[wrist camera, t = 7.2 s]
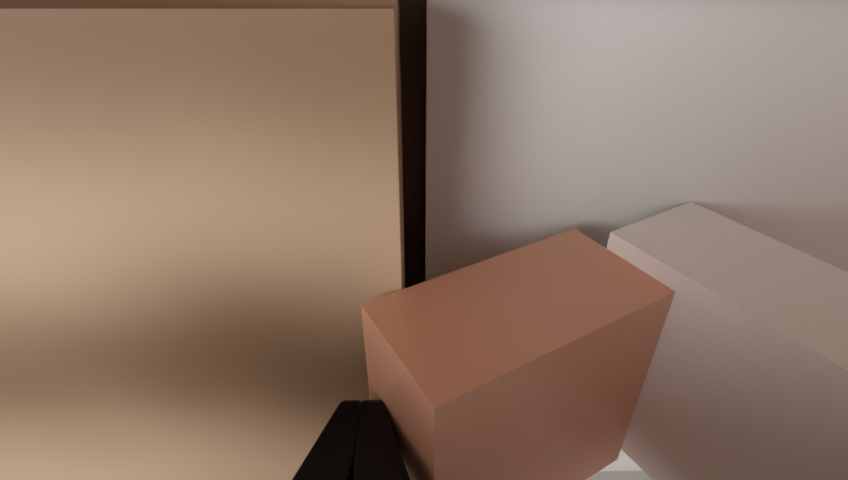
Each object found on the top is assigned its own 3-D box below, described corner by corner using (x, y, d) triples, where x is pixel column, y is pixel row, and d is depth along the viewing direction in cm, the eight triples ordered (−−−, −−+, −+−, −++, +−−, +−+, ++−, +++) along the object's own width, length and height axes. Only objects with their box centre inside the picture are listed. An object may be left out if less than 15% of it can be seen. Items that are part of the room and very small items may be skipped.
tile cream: (571, 400, 12) (639, 363, 13) (773, 597, 9) (845, 524, 10) (610, 232, 10) (691, 201, 11) (924, 413, 6) (999, 341, 7)
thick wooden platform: (409, 454, 16) (408, 550, 14) (-80, 462, 16) (-170, 562, 14) (399, -16, 9) (393, 8, 6) (-516, -16, 9) (-901, 8, 6)
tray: (823, 464, 17) (867, 522, 16) (424, 472, 17) (425, 532, 15) (1220, -78, 9) (1416, -80, 7) (426, -81, 8) (430, -83, 7)
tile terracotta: (544, 385, 13) (616, 459, 12) (377, 472, 11) (432, 579, 9) (574, 228, 11) (675, 291, 9) (360, 304, 9) (435, 408, 7)
